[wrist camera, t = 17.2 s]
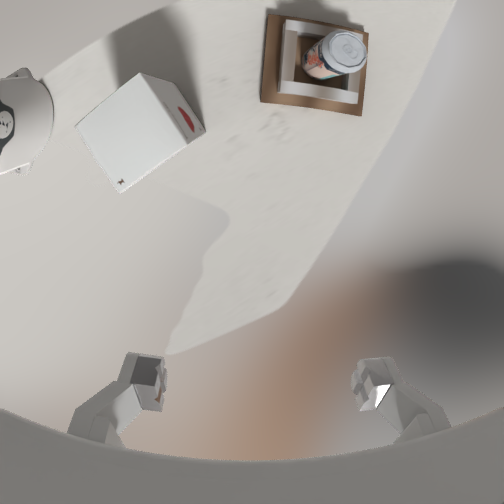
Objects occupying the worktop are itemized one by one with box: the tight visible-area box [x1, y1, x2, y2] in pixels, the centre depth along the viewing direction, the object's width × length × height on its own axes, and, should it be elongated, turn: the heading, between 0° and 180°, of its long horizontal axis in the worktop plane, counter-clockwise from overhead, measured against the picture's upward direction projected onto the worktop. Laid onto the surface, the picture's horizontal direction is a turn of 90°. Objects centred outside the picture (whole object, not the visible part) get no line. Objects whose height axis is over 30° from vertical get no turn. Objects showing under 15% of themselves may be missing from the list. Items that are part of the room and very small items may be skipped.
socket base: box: [260, 14, 369, 116], centre depth 33 cm, size 14×13×4 cm
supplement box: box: [75, 73, 206, 194], centre depth 31 cm, size 9×9×15 cm
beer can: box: [301, 30, 367, 80], centre depth 28 cm, size 5×5×12 cm
